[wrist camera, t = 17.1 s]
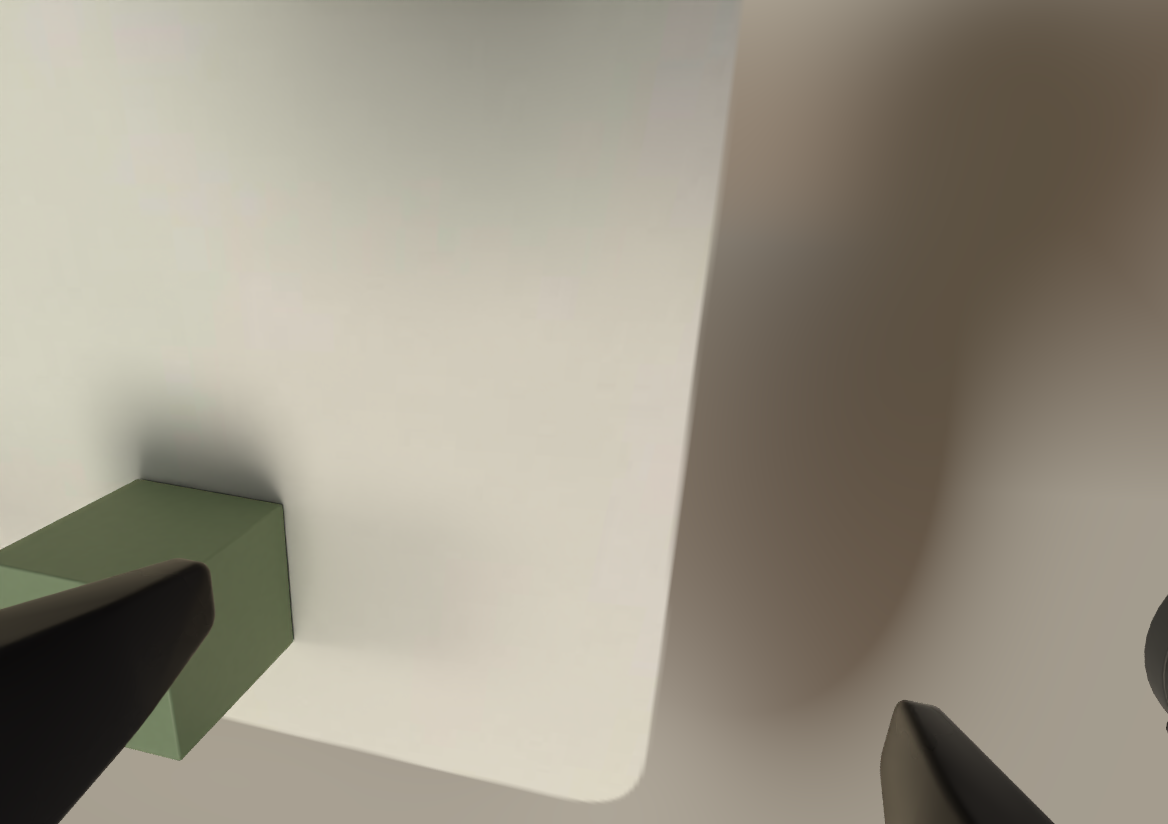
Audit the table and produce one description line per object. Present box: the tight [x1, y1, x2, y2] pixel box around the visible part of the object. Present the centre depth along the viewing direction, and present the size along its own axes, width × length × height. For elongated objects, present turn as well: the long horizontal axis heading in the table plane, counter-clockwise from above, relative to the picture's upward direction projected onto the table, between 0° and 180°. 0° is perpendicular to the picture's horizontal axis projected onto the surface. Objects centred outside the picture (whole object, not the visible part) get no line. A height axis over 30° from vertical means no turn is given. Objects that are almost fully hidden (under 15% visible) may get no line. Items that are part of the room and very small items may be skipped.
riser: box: [0, 479, 293, 760], centre depth 24 cm, size 6×6×6 cm
